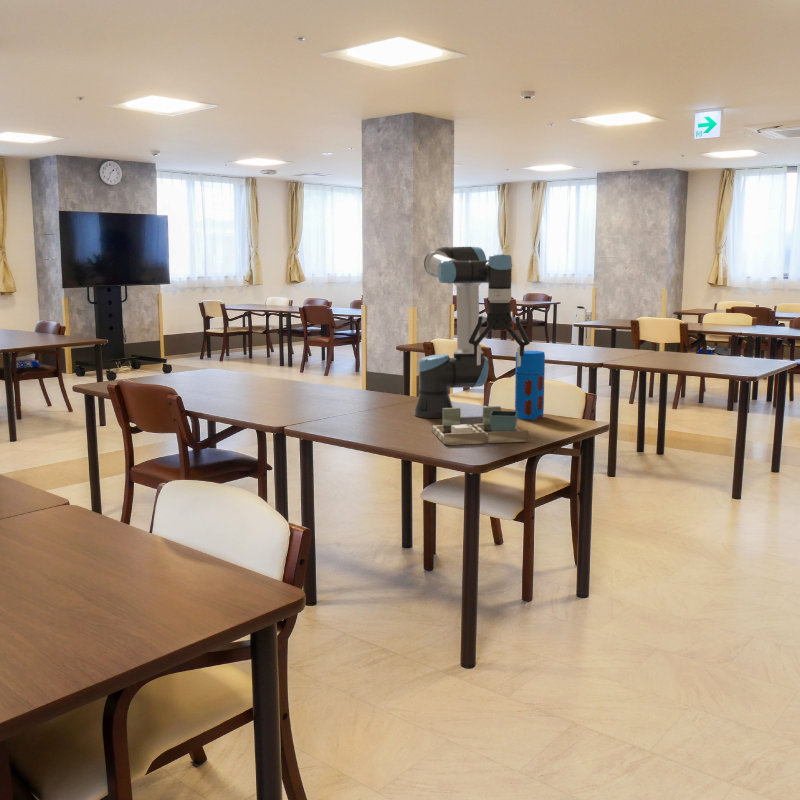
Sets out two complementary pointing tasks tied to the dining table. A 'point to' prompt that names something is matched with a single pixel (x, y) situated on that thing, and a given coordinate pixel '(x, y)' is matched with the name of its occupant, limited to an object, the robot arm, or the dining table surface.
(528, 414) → the thermos
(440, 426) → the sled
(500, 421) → the flower pot
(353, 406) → the dining table surface
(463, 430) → the cream cube
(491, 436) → the oak sled
